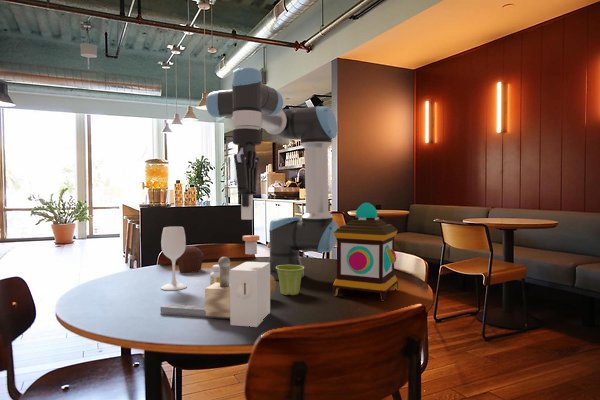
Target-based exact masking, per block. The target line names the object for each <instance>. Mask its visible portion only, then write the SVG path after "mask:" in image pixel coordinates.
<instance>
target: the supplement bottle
mask: <svg viewBox="0 0 600 400" xmlns="http://www.w3.org/2000/svg"><path fill="white" fill-rule="evenodd" d="M209 276H210V279H209V280H210V282H209V283H210V285H212V284H214V283H216V282H217V283H220V266H219V264H218V263H217V264H213V265H212V272H210V275H209ZM210 285H209V286H210Z"/></svg>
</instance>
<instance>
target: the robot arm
mask: <svg viewBox="0 0 600 400" xmlns="http://www.w3.org/2000/svg"><path fill="white" fill-rule="evenodd" d="M206 96H207V97H206V100H205V107H206V110H207V112H208V114H209V115H210V116H211V117H212V118H213V117H214V118H224V117H227V118H229V119H230V120H231V121H232V128H233V130H232V144H233V145H235V146H237V153H236V154H235V153H234V154H233V159H234V163H235V164H234V165H235V172H236V173H235V174H236V176H235V177H236V184H237V195H241V196H240V197H241V199H240V201H241V202H240V203H241V206H240V212H241V217H240V218H241V220H248V221H249V220H252V221H253V219H254V195H257V181H258V169H259V168H258V166H259V162H260V159H259V157H257V152H256V146H260V145H261V144H262V131H261V129H263V130H265V132H266V133H268V134H270V135H273V136H276V137H279V138H281V139H282V138H283V139H287V140H295V141H296V140H297V141H298V140H300V145H301V146H302V147H303V148H304V171H305V172H304V182H305V183H304V184H305V186H304V188H305V213H304V214H302V216H301V218H300V217H299V216H289V217H283V218H282V217H281V218H275V219H272V220H271V221H270V223H269V258H268V261H267V262H268V263H270V275H272V276H273V277H274V279H275V281H279V276H278V273H277V269H276V266H279V265H300V266H303V264H302V262H301V261H302V260H301V258H300V252H314V253H319V254H320V253H330V252H332V251H333V250H334V248H335V246H336V245H337V239H336V237H335V235H334V231H336V229H338V228H339V226H338V223H337V222H336V221H335V220H333V217H334V216H333V215H332V214H331V212H329V156H328V155H329V153H328V151H329V147H330V146H331V145H332V143H333V140H332V139H335V138H336V137H337V135H338V124H337V119H336V116H335V113H334V110H333V109H332V108H330V107H329V106H318V105H317V106H307V107H299V108H286V109H282V108H283V105H284V99H283V95H282V94H281V93H280V92H279V91H278V90H277V89H275V88H273V87H270V86H268V85H267V84H264V83H263V79H262V72H261V71H260V70H259V69H257V68H253V67H239V68H236V69H235V70H233V72H232V82H231V89H225V90H216V91H212V92H210V93H208V94H207V95H206ZM304 270H305V269H303V273H302V276H301V279H302V278H304V276H305V272H304Z"/></svg>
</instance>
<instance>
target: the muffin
mask: <svg viewBox="0 0 600 400" xmlns="http://www.w3.org/2000/svg"><path fill="white" fill-rule="evenodd" d="M204 255H205V254H204V253H203V251H202V250H201V249H200V248H199V247H196V246H193V245H189V246H186V248H185V251H184V253H183V254H182V255H181V256H180V257H179V258H177V264H178V270H179V272H180V273H183V274H186V273H187V274H189V273H190V274H192V273H197V272H200V271H202V265H203V264H202V263H203V257H204Z"/></svg>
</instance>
